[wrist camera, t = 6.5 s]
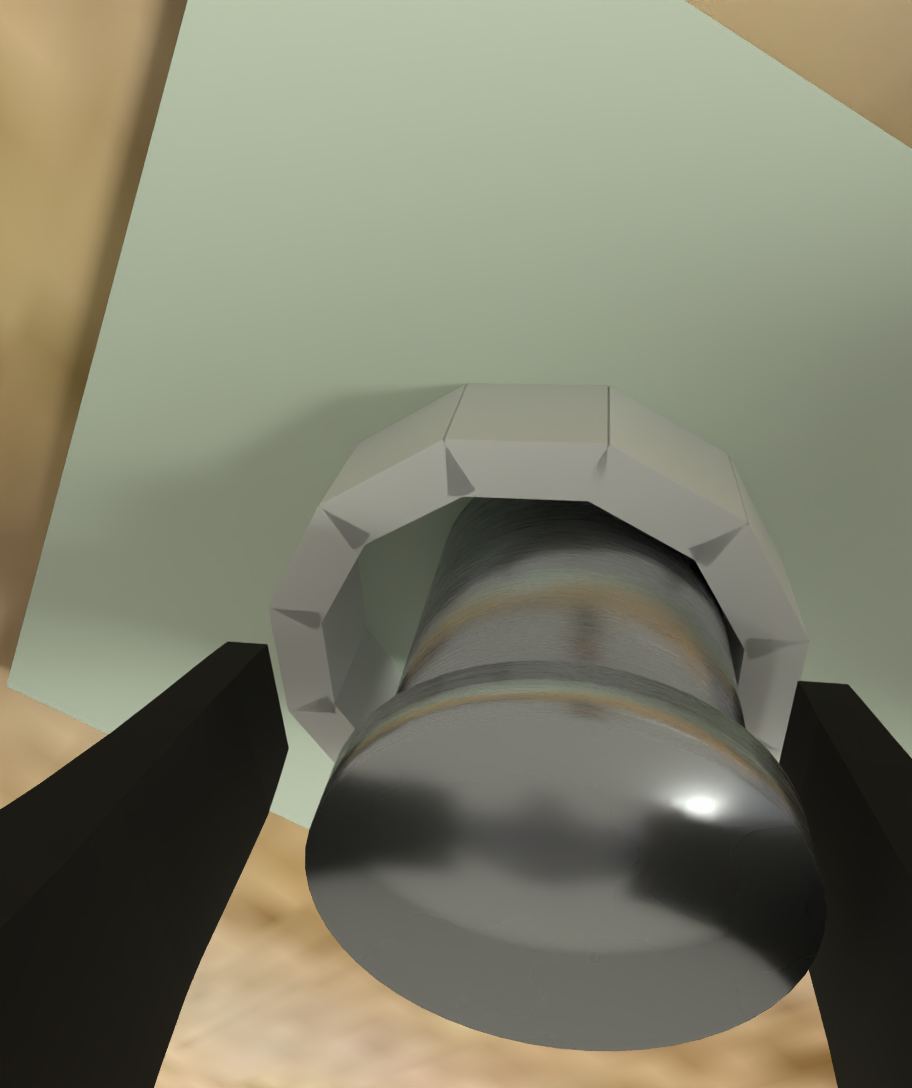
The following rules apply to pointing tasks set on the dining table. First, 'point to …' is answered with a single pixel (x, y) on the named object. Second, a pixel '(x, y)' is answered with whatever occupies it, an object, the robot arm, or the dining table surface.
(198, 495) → the duct flange
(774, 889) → the silver canister
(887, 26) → the dining table surface
